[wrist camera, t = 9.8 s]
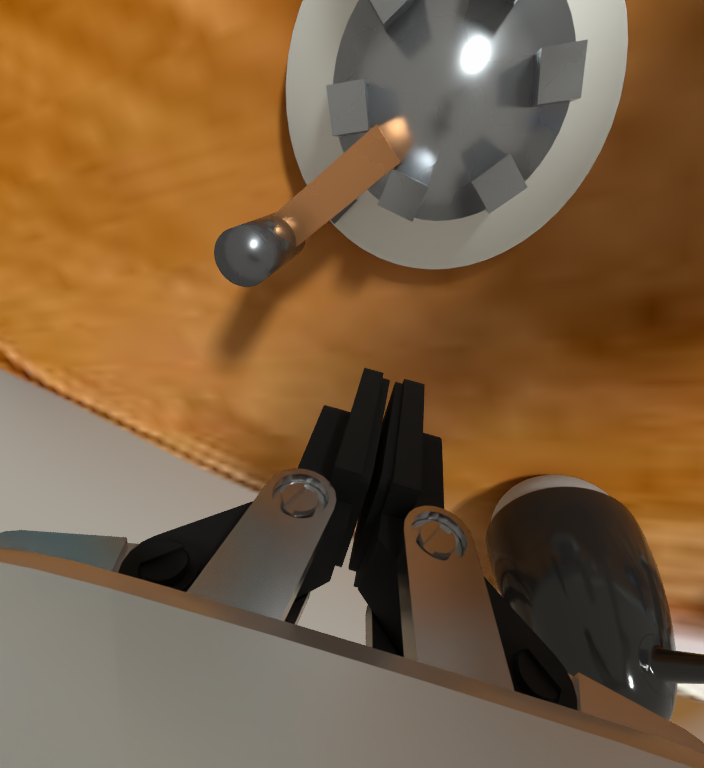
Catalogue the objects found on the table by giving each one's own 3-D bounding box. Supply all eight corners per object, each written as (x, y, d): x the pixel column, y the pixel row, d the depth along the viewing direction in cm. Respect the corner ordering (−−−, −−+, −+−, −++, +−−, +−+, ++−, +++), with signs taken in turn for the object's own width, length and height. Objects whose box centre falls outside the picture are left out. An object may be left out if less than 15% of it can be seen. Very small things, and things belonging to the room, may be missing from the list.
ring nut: (489, -110, 16) (540, -306, 9) (592, 126, 19) (686, 106, 12) (219, 166, 22) (133, 168, 16) (329, 310, 26) (297, 363, 19)
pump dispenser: (649, 497, 31) (821, 749, 18) (544, 563, 36) (617, 798, 23) (549, 427, 29) (655, 646, 16) (453, 507, 34) (475, 724, 21)
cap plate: (302, -134, 18) (291, -160, 16) (681, -103, 17) (705, -127, 15) (288, 243, 26) (280, 248, 24) (544, 282, 24) (552, 289, 23)
